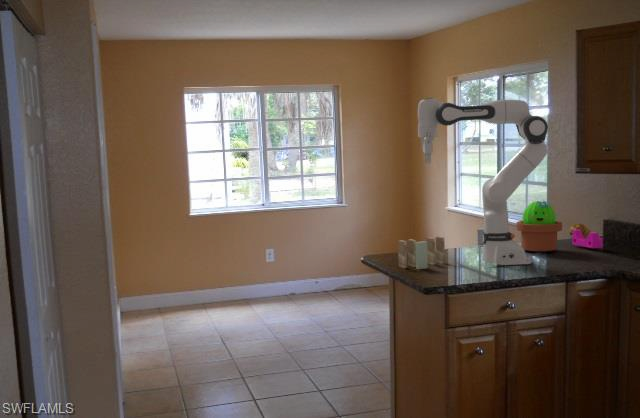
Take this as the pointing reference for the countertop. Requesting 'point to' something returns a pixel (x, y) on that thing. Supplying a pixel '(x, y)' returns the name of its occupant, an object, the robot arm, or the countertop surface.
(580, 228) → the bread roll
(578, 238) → the magenta tape dispenser
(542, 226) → the potted cactus
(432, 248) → the domino
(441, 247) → the domino
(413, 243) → the domino
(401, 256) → the domino far end
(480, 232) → the medicine box
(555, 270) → the countertop surface
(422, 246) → the sage domino
